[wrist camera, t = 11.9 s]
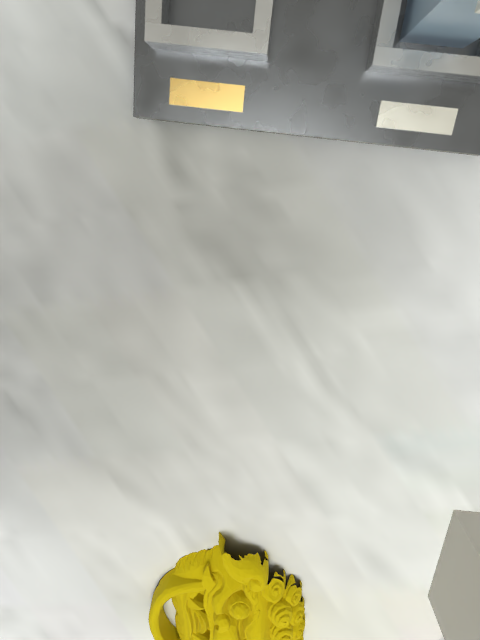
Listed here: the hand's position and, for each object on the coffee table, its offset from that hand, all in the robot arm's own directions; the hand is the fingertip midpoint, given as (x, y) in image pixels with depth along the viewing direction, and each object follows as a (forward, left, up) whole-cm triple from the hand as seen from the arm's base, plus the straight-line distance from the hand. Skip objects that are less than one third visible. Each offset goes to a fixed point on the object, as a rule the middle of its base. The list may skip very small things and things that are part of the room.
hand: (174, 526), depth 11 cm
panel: (+3, +18, -26) cm, 32 cm away
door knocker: (+2, -36, -26) cm, 45 cm away
